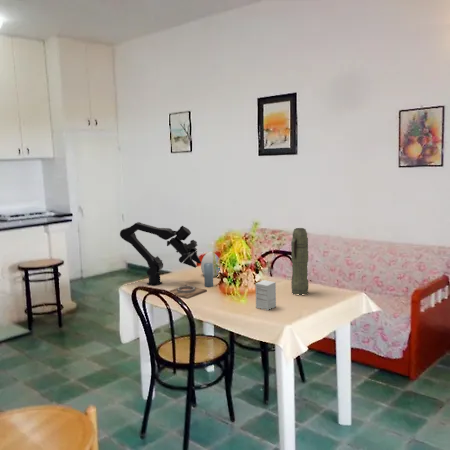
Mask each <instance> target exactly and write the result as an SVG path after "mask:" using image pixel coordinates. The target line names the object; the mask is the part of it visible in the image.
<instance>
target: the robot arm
mask: <svg viewBox="0 0 450 450" xmlns="http://www.w3.org/2000/svg"><path fill="white" fill-rule="evenodd" d="M137 231H141V232H144V233H149V234H151V235H152V234H153V235H154V236H157V237H158V238H160V239H162V240H165V241H166V246H167V247H168V246H170V245H171V246H172V248H174V250H176V251H175V252H176V253H179V255H181V256H179V258H178V262H180V264H184V265H187V266H189V267H192V268H197V267H198V266H197V265H196V263H197V264H199V265H201V262H202V260H201V259H200V258H199V255H198V249H197V246H198V242H197V241H196V240H194V239H191V240H190V242H189V243H188V244H187V243H185V242H183V241H185V240H187V238H188V237H190V235H191V234H192V232H191V230H190V229H189V228H187V227H186V226H184V225H181V226H180V227H179V229H178V230H173V229H171V228H169V227H157V226H153V225H149V224H146V223H142V222H141V221H140V222H139V221H137V222H134V223H133V224H132V225H130V226H129V227H126V228H123V229H121V230H120V232H119V236H120V238H121V239H123V240H124V241H125V242H127V243H129V244H131V246H133V248H134V249H135V250H136V252H138V254H140V255H141V256H142V258H143V259H144V260H145V261H146V264H147V265H148V268H149V269H148V270H147V271H146V274H147V276H148V282H146V284H147V285H149V286H150V285H151V286H158V285H161V284H163V282H162V281H161V275H160V273H161V270H162V269H163V268H164V262H163V260H162V259H161V258H160V257H159V256H158V255H157V256H154V255H153V254H151V252H150V251H149V250H148V249H147V248H146V247H145V246H144V245H143V243H142V242H141V241H140V240H139V239H138V237H137V235H136V232H137ZM169 239H170V240H169ZM195 262H196V263H195Z"/></svg>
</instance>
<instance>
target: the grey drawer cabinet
mask: <svg viewBox="0 0 450 450" xmlns="http://www.w3.org/2000/svg"><path fill="white" fill-rule="evenodd" d="M276 285H277V284H276V282H275V281H271V280H265V279H262V280H260V281H258V282H256V283H255V308H257V309H258V308H261V309H260V310H263V309H266V310H265V311H267V310H268V311H270V310H271V308H272V309H274V308H276V307H277V298H276V297H277V292H276V291H277V289H276V287H277V286H276ZM269 309H270V310H269Z"/></svg>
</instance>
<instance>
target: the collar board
mask: <svg viewBox="0 0 450 450" xmlns="http://www.w3.org/2000/svg"><path fill="white" fill-rule="evenodd" d="M169 291H170V292H172V293H174V294H175V295H177V296H178V298H182V299H187V300H188V299H190V298H193V297H196V296H199V295H201V294H204V293H206V292H207V291H208V290H207V289H205V288H201V287H196V286H193V285H186V284H185V285H183V286H178V287H177V288H174V289H171V290H169ZM177 296H176V297H177Z"/></svg>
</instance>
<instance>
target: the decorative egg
mask: <svg viewBox="0 0 450 450" xmlns="http://www.w3.org/2000/svg"><path fill="white" fill-rule="evenodd" d="M218 259H219V260H220V258H219V256H218V255H217V254H216V253H215V252H214V251H208V252H206V253H205V254H204V255H203V257H202V259H201V264H200V269H201V273H202V275H204V264H205V263H213V278H215V277H217V275H218V276H219V274H218V272H219V271H220V272H221V270H220V268H218V267H216V266H215V265H214V264H216V263H217V262H218Z"/></svg>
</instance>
